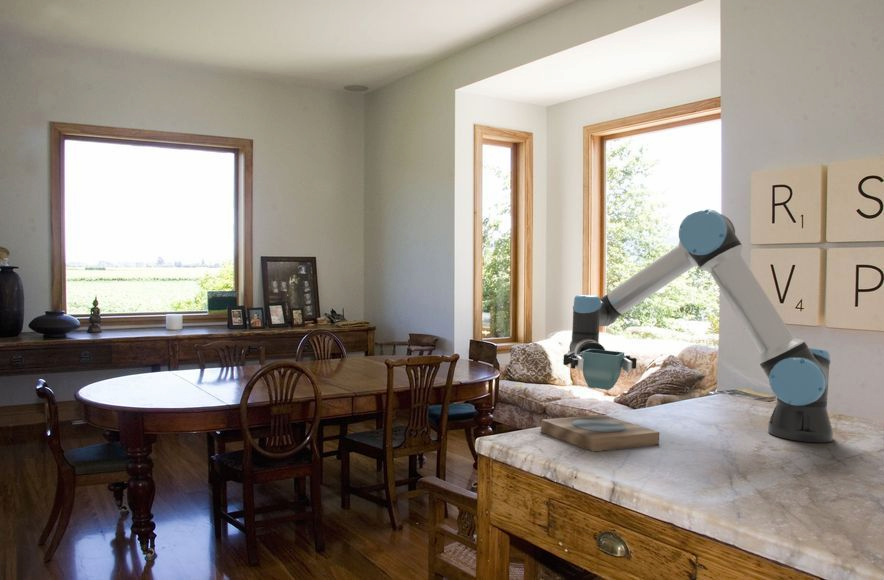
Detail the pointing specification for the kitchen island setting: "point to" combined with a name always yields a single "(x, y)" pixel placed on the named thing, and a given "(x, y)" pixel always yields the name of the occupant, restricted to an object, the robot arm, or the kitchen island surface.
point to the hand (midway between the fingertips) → (605, 366)
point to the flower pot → (602, 368)
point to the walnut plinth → (599, 432)
